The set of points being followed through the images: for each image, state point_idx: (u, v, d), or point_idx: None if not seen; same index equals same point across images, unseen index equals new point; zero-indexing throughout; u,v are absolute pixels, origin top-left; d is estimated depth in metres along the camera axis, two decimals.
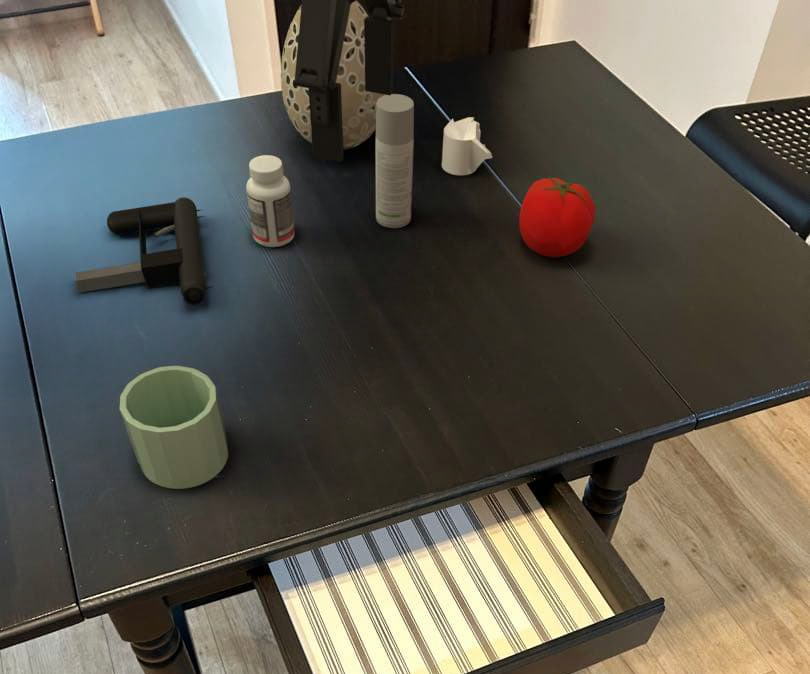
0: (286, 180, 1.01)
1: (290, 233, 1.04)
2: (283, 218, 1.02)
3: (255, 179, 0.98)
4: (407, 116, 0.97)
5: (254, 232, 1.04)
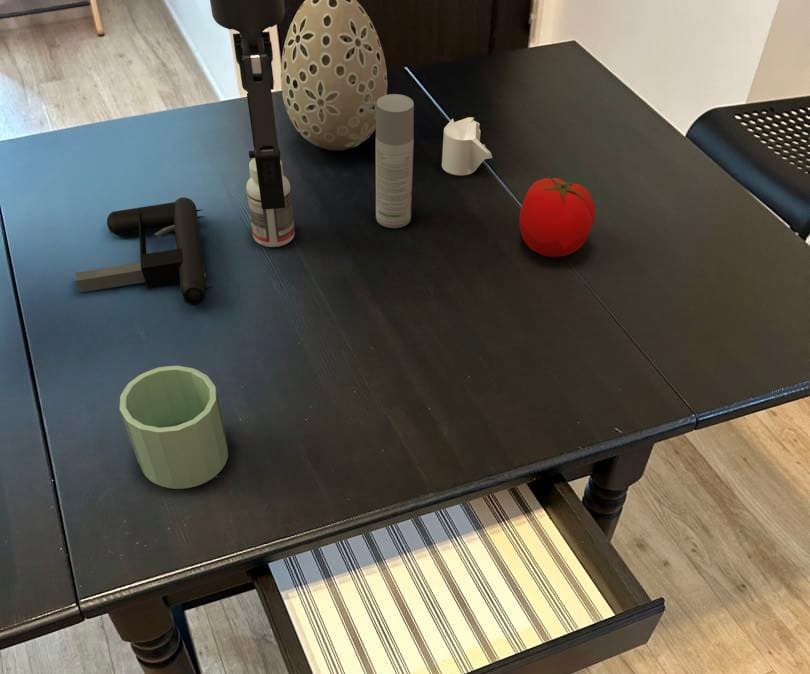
0: (286, 180, 1.01)
1: (290, 233, 1.04)
2: (283, 218, 1.02)
3: (255, 179, 0.98)
4: (407, 116, 0.97)
5: (254, 232, 1.04)
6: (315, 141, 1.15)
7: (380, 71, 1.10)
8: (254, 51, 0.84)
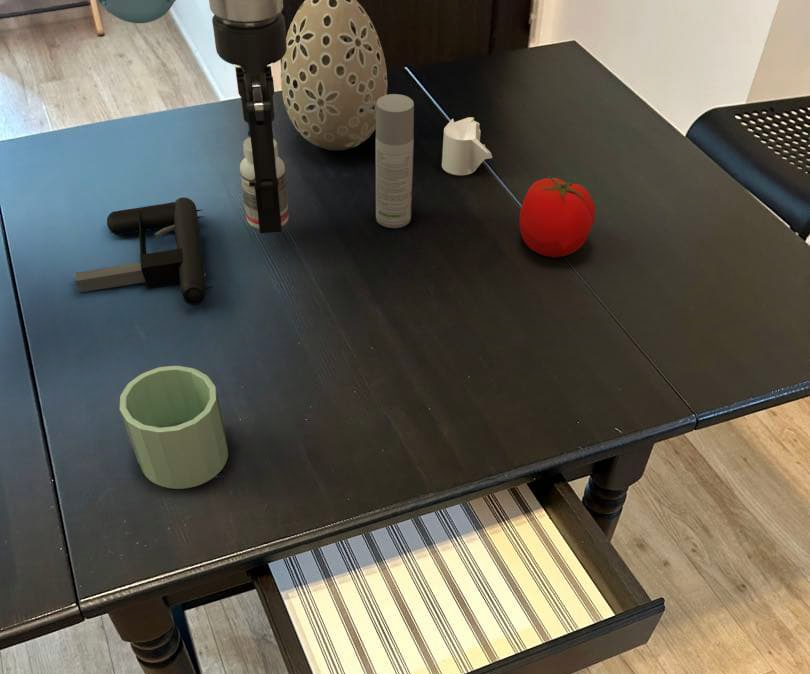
0: (281, 161, 0.99)
1: (284, 216, 1.02)
2: None
3: (249, 159, 0.96)
4: (407, 116, 0.97)
5: (247, 214, 1.02)
6: (315, 141, 1.15)
7: (380, 71, 1.10)
8: (257, 95, 0.87)
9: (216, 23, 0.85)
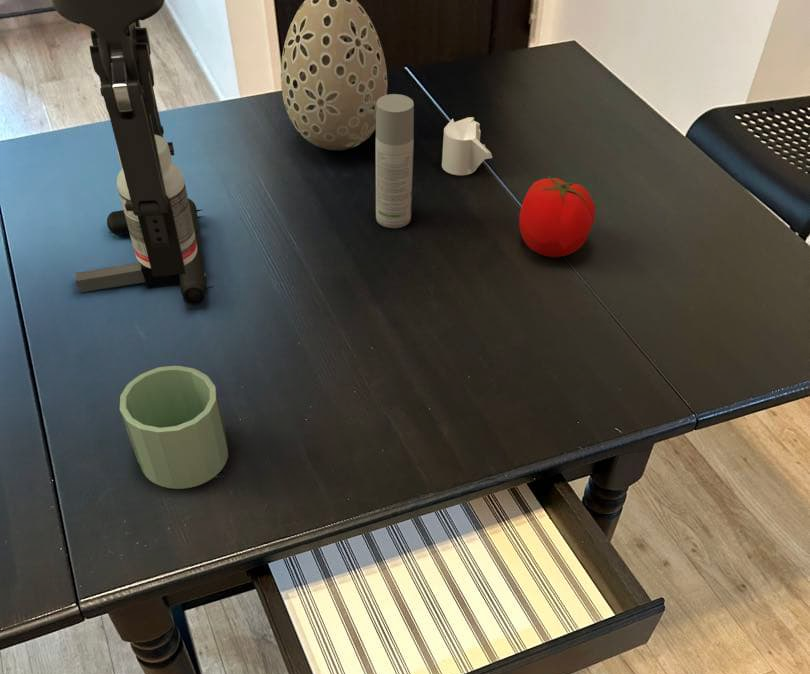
0: (177, 171, 0.67)
1: (189, 249, 0.71)
2: None
3: None
4: (407, 116, 0.97)
5: (135, 249, 0.70)
6: (315, 141, 1.15)
7: (380, 71, 1.10)
8: (118, 71, 0.56)
9: None
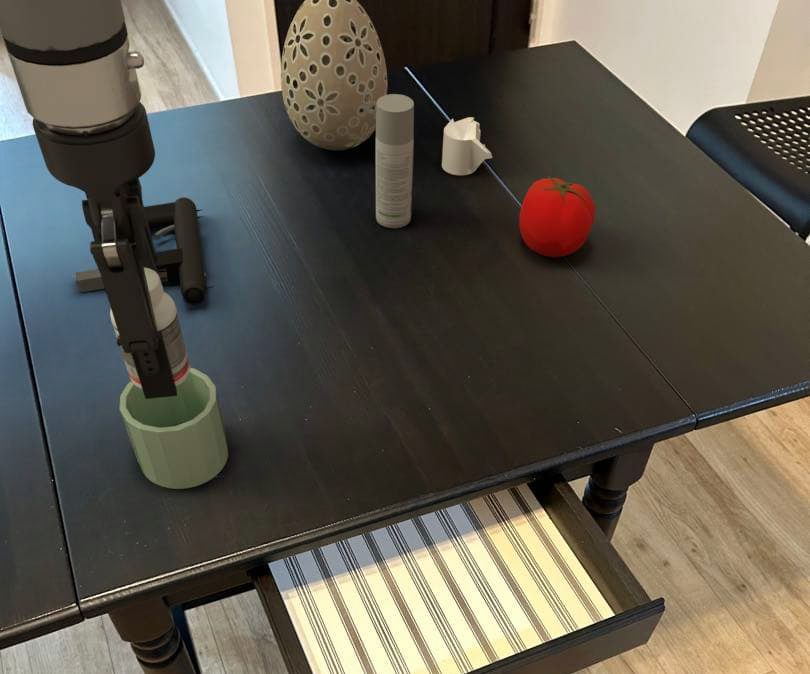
0: (169, 302, 0.69)
1: (181, 372, 0.72)
2: None
3: None
4: (407, 116, 0.97)
5: (128, 371, 0.72)
6: (315, 141, 1.15)
7: (380, 71, 1.10)
8: (108, 230, 0.57)
9: (36, 126, 0.55)
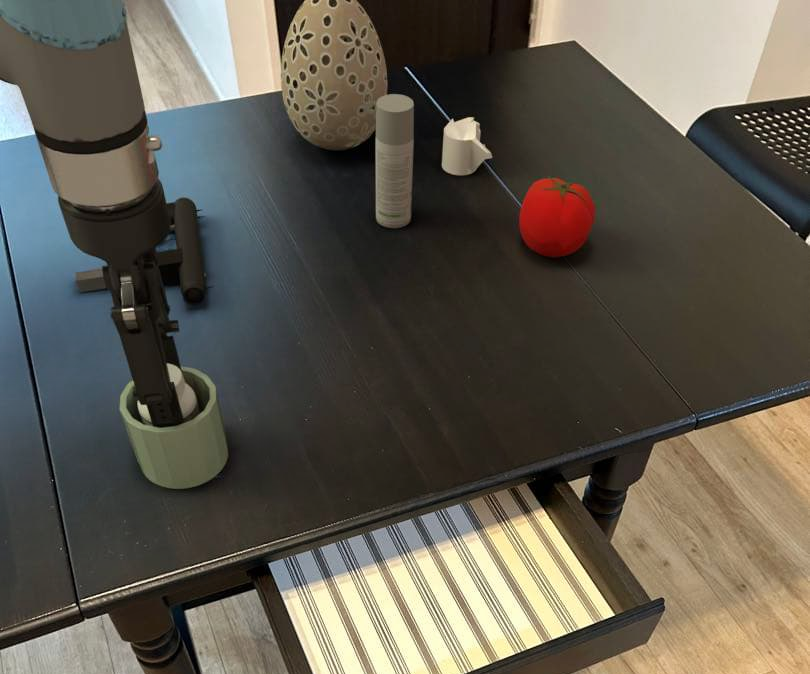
0: (190, 393, 0.77)
1: None
2: None
3: None
4: (407, 116, 0.97)
5: None
6: (315, 141, 1.15)
7: (380, 71, 1.10)
8: (127, 296, 0.62)
9: (62, 203, 0.59)
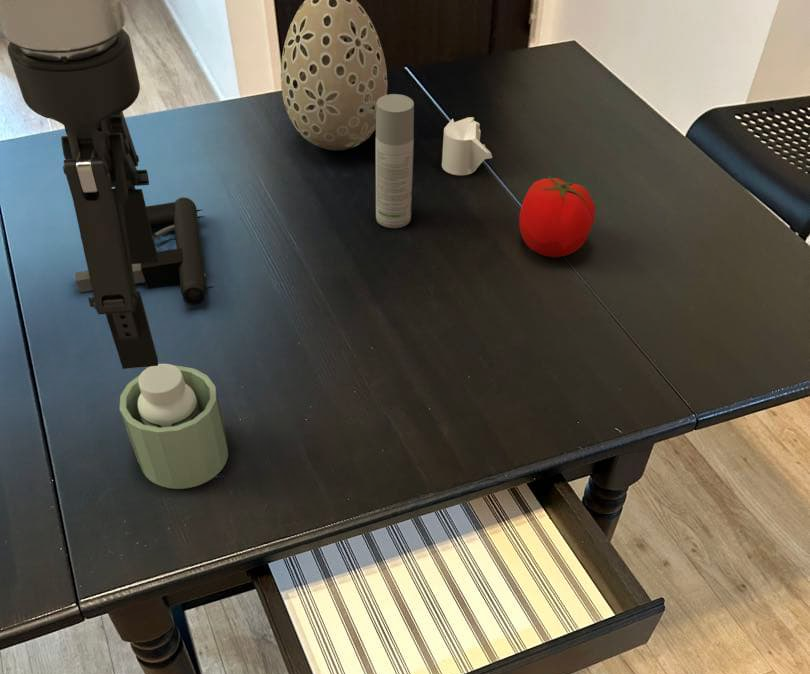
0: (190, 394, 0.77)
1: None
2: None
3: (146, 399, 0.74)
4: (407, 116, 0.97)
5: None
6: (315, 141, 1.15)
7: (380, 71, 1.10)
8: (86, 153, 0.53)
9: (12, 52, 0.51)
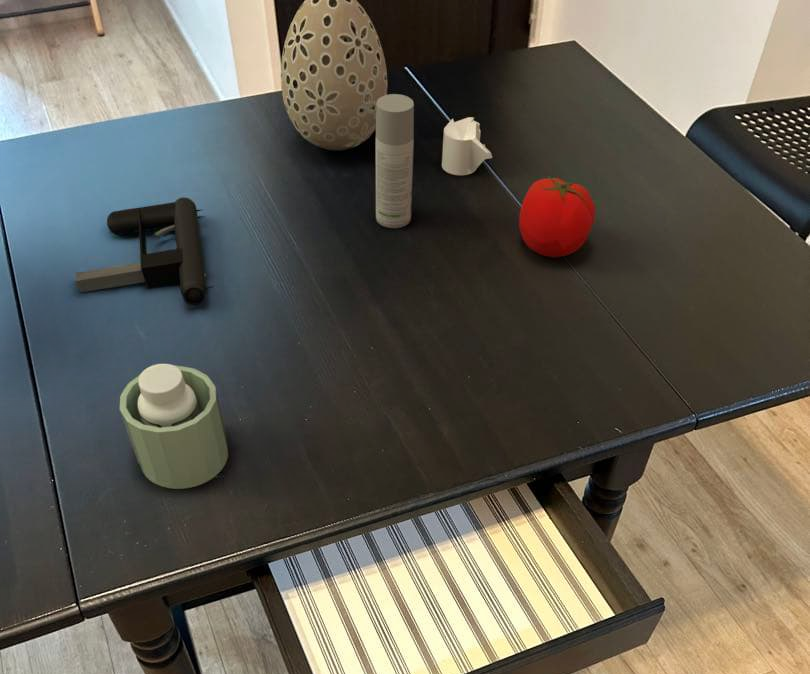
0: (190, 394, 0.77)
1: None
2: None
3: (146, 399, 0.74)
4: (407, 116, 0.97)
5: None
6: (315, 141, 1.15)
7: (380, 71, 1.10)
8: None
9: None
